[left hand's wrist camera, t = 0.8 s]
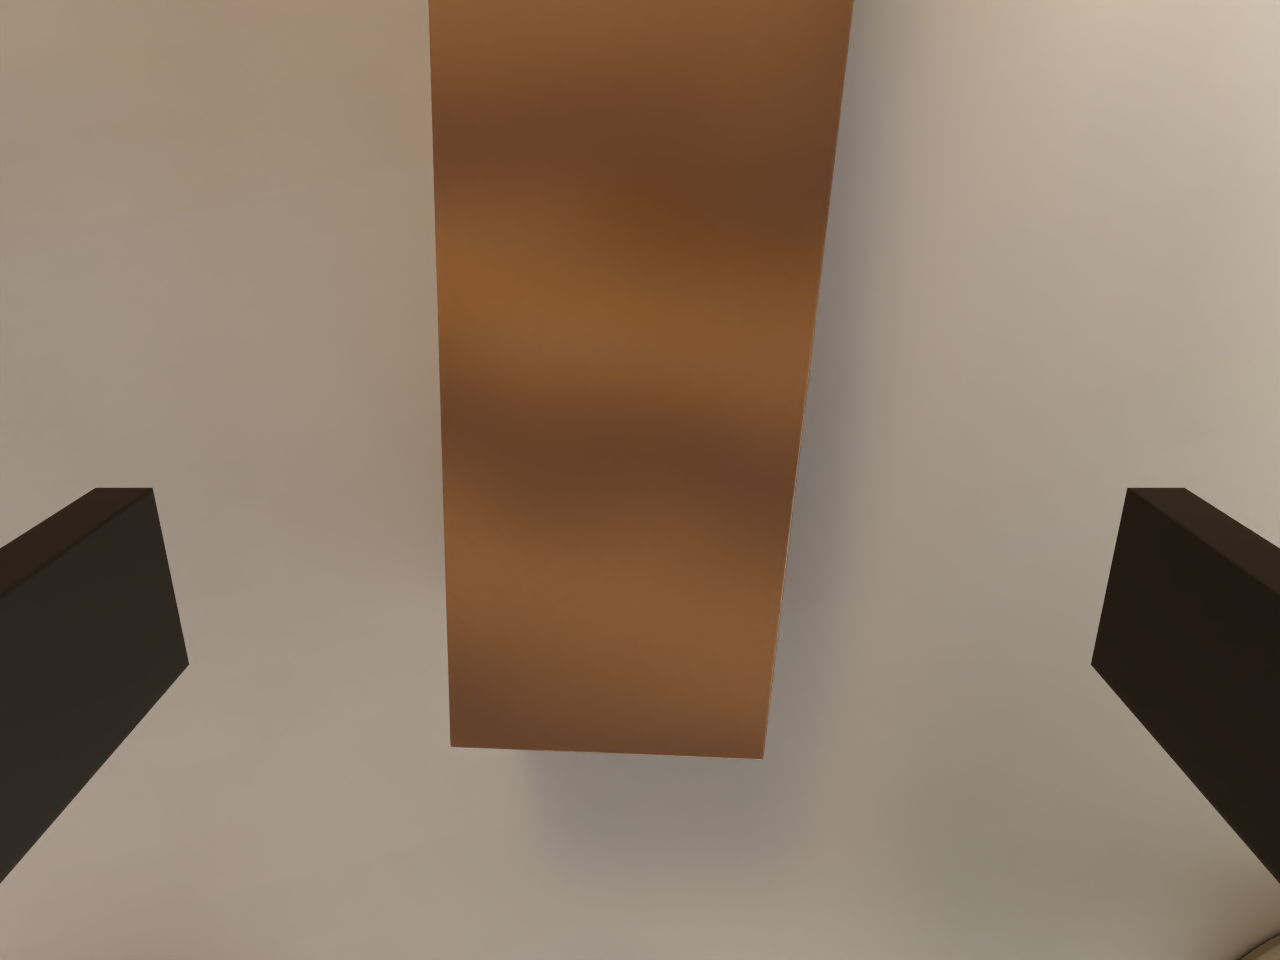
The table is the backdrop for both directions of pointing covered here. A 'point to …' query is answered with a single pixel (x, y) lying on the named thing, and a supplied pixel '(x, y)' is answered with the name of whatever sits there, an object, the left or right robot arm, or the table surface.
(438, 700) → the table surface
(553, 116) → the wide beam
